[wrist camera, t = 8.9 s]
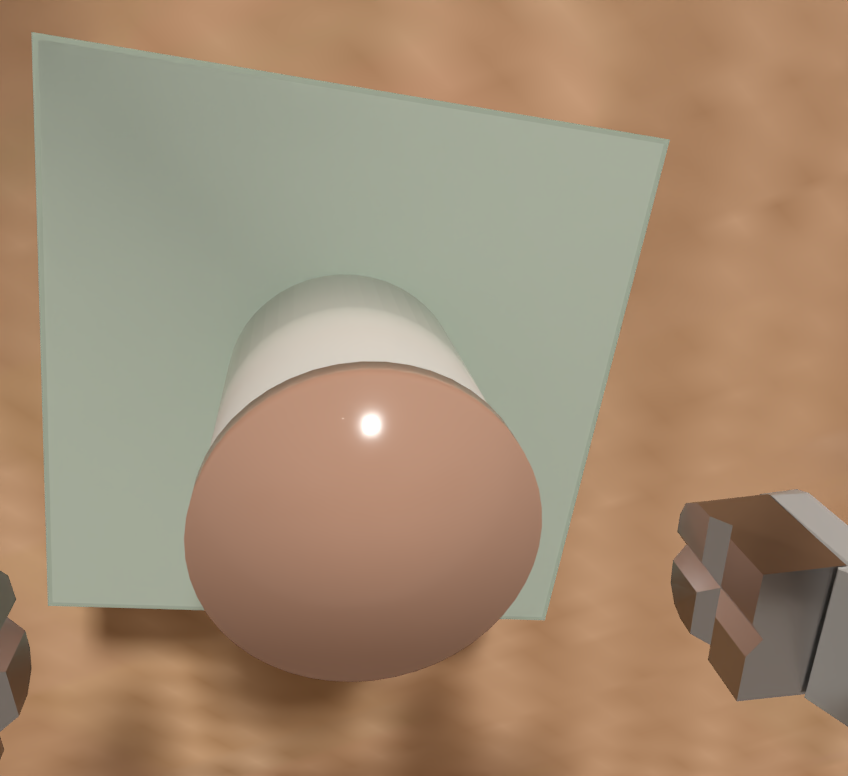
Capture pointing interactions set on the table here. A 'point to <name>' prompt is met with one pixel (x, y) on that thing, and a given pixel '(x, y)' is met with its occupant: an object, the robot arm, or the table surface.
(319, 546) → the pink capped tube
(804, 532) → the robot arm
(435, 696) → the table surface
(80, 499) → the sage box
